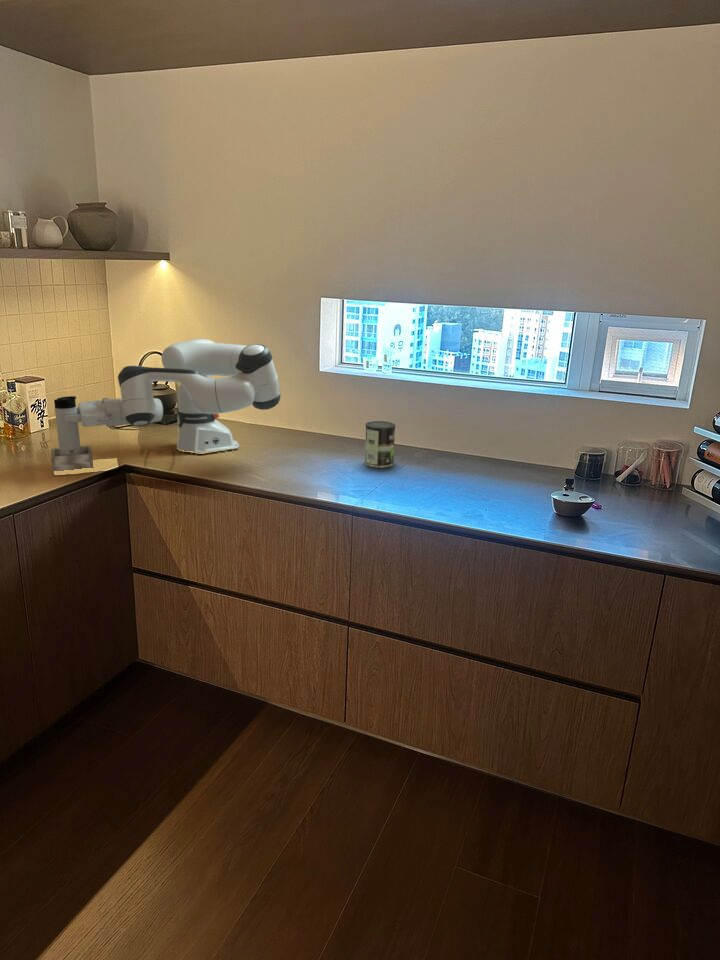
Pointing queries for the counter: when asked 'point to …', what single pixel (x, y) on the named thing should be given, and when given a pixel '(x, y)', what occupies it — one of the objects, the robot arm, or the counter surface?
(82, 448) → the mug caddy
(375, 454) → the coffee can
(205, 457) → the counter surface
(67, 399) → the travel mug
